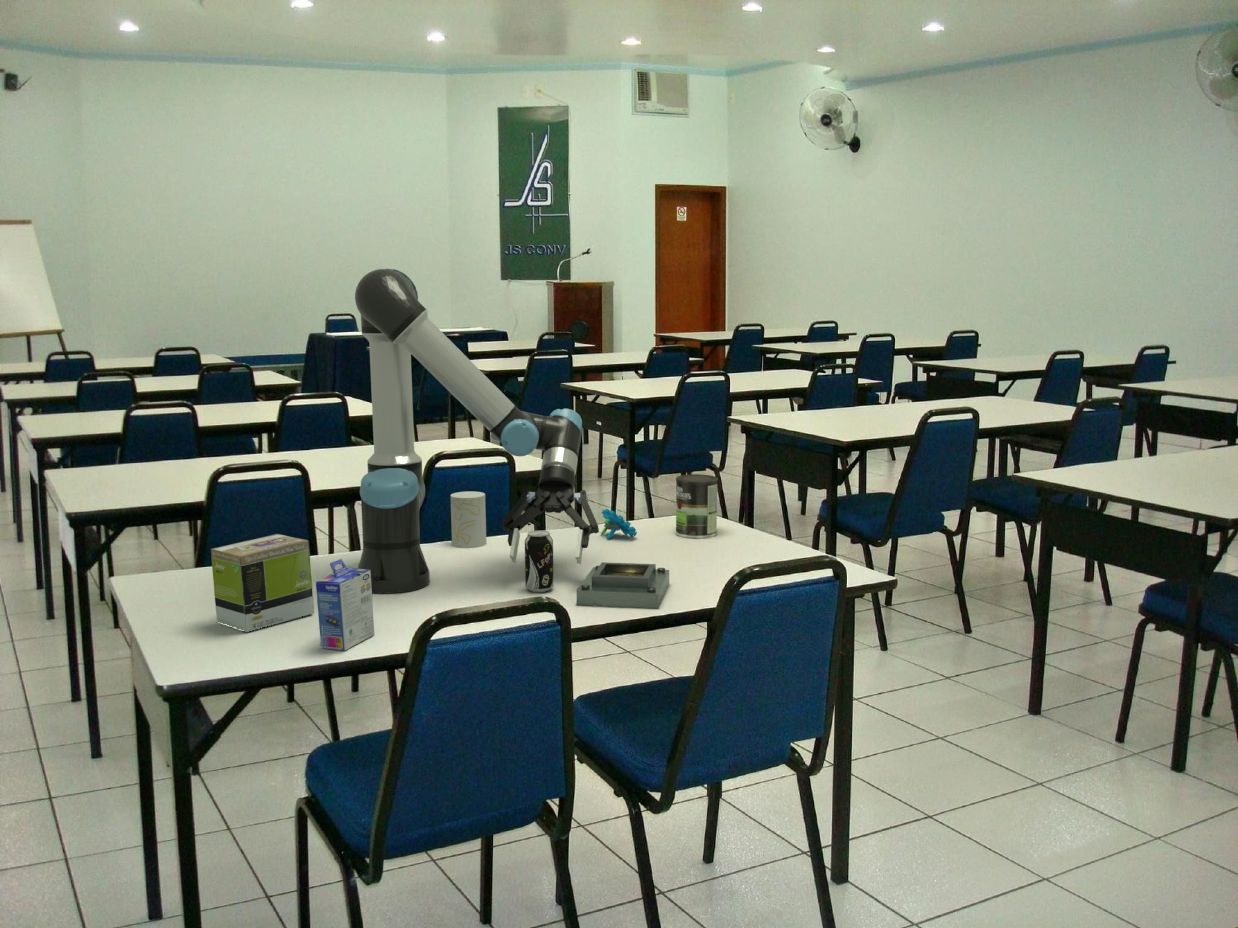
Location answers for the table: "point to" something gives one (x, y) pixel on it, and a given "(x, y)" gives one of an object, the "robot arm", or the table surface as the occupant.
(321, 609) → the ink cartridge box
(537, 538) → the beverage can
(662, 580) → the grey socket fixture
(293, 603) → the tea box
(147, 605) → the table surface
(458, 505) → the cup
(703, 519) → the coffee can
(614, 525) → the blue lumpy piece
